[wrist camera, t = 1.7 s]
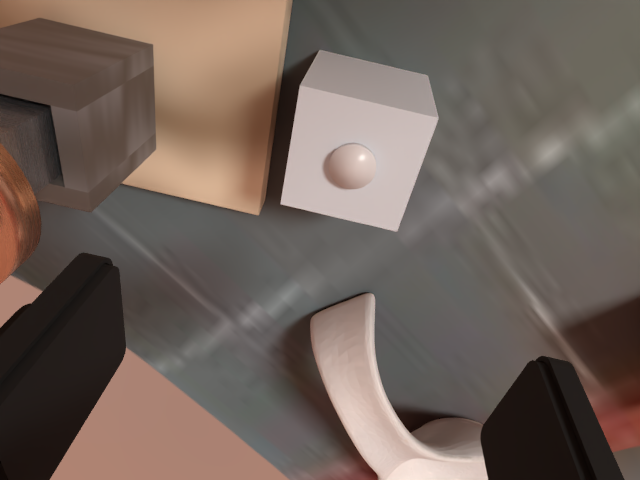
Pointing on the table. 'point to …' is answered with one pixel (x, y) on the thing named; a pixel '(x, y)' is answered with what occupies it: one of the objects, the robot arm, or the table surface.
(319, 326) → the spoon rest
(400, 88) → the block
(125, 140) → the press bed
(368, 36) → the table surface
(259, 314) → the table surface
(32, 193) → the disc
